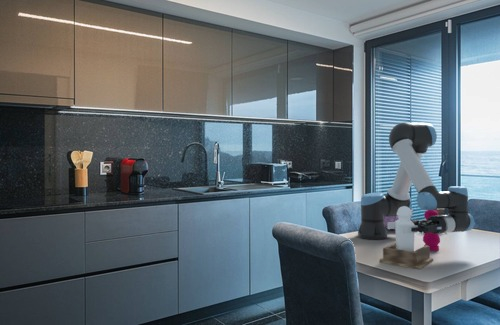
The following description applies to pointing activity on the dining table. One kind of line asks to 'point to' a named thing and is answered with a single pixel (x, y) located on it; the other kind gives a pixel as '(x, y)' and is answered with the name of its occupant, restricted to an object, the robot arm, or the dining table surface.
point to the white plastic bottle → (402, 239)
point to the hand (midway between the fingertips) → (395, 227)
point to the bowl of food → (391, 219)
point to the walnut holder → (406, 257)
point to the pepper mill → (431, 234)
